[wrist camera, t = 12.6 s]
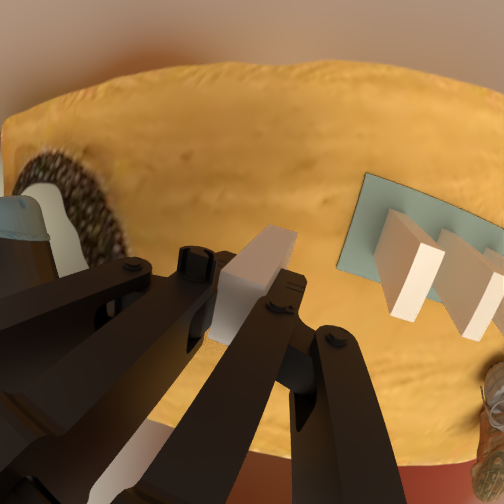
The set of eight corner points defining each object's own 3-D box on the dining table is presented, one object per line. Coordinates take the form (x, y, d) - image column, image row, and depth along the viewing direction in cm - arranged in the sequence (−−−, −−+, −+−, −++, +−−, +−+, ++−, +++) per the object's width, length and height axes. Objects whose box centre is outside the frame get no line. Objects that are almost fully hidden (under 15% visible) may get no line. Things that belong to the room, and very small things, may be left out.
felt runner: (336, 266, 30) (336, 268, 30) (366, 172, 27) (366, 173, 26) (539, 334, 25) (541, 336, 24) (570, 267, 21) (573, 269, 20)
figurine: (513, 391, 28) (543, 462, 14) (495, 426, 30) (514, 494, 16) (470, 399, 30) (494, 480, 16) (453, 433, 33) (466, 509, 19)
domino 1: (373, 255, 28) (389, 315, 17) (389, 208, 27) (420, 242, 16) (389, 261, 28) (413, 322, 17) (405, 214, 26) (445, 252, 15)
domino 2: (424, 273, 27) (461, 336, 16) (441, 227, 26) (494, 271, 15) (438, 278, 27) (479, 341, 16) (455, 233, 25) (511, 279, 14)
